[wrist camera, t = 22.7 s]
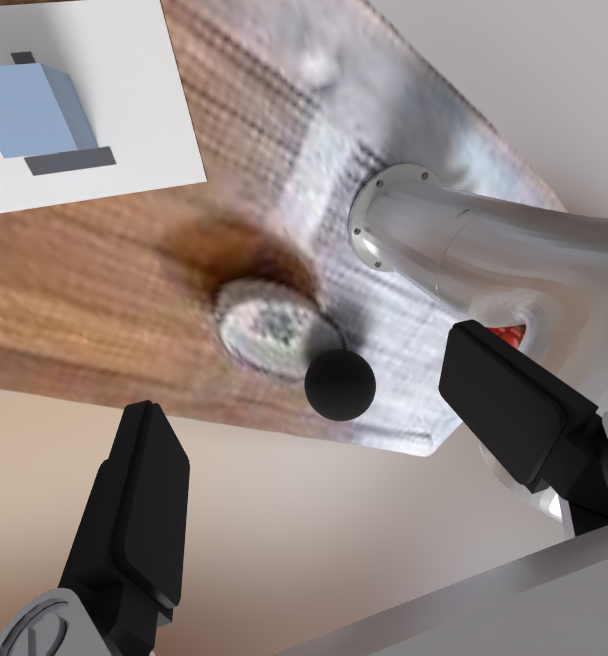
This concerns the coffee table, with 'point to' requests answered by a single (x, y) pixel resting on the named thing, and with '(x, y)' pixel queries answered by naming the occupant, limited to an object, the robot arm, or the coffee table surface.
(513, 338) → the dragon fruit
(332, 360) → the decorative ball
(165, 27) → the letter sheet
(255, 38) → the coffee table surface
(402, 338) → the coffee table surface
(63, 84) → the blue cube
